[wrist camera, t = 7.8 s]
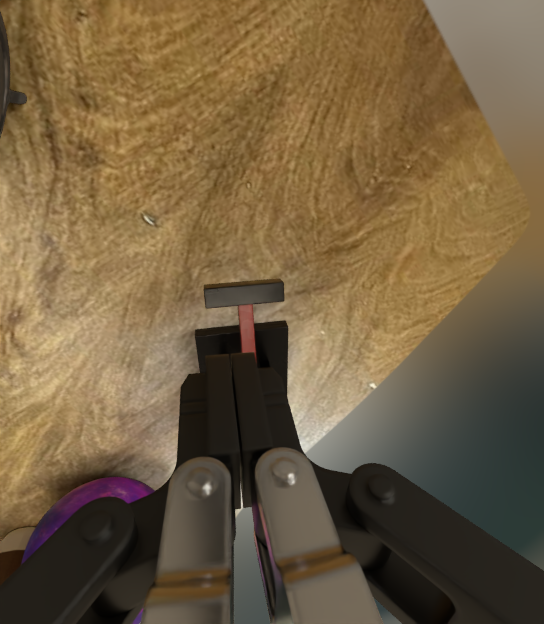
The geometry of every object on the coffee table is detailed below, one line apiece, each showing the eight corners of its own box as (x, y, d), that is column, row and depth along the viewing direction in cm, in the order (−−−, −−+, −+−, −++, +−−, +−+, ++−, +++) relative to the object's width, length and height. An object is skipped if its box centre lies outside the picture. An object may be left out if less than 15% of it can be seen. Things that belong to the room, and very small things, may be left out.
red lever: (203, 283, 29) (203, 289, 27) (279, 277, 30) (284, 283, 28) (221, 448, 34) (222, 466, 31) (286, 439, 34) (292, 455, 32)
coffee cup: (50, 505, 46) (8, 625, 36) (92, 548, 52) (66, 661, 41) (-38, 531, 45) (-106, 659, 35) (14, 571, 51) (-32, 690, 41)
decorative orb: (28, 461, 41) (-46, 626, 29) (166, 438, 43) (153, 584, 31) (73, 534, 49) (30, 689, 37) (188, 512, 51) (185, 652, 38)
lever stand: (195, 329, 36) (194, 411, 27) (285, 320, 38) (314, 395, 28) (207, 416, 43) (209, 507, 33) (284, 406, 44) (307, 490, 35)
